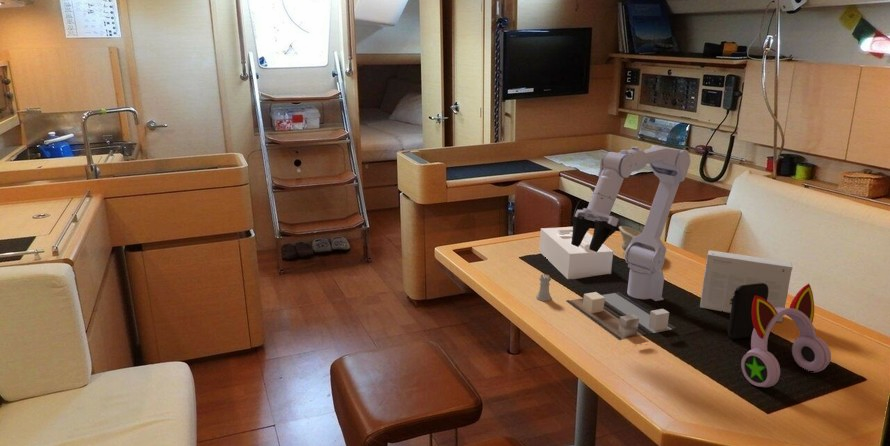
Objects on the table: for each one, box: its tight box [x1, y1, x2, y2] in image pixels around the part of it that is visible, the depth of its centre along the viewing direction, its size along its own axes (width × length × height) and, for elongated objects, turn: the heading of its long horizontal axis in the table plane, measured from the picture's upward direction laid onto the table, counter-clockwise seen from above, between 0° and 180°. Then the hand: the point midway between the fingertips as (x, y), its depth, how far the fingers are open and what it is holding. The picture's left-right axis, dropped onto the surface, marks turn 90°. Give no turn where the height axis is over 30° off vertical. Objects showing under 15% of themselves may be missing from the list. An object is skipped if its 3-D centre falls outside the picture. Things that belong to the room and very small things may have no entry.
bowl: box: [618, 225, 655, 252], centre depth 217 cm, size 15×14×10 cm
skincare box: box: [699, 249, 793, 323], centre depth 175 cm, size 21×6×16 cm, turn 65°
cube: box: [582, 291, 605, 313], centre depth 173 cm, size 4×4×4 cm
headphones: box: [740, 283, 832, 388], centre depth 142 cm, size 20×10×20 cm, turn 115°
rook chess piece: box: [535, 273, 552, 302], centre depth 179 cm, size 4×4×8 cm
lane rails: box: [565, 291, 677, 341], centre depth 171 cm, size 18×24×1 cm
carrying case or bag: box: [726, 283, 769, 340], centre depth 160 cm, size 11×3×15 cm, turn 106°
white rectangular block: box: [538, 226, 614, 280], centre depth 208 cm, size 14×25×11 cm, turn 12°
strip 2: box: [601, 292, 672, 334], centre depth 172 cm, size 6×24×6 cm, turn 22°
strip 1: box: [569, 297, 642, 340], centre depth 169 cm, size 6×24×6 cm, turn 22°
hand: (583, 248), depth 159 cm, fingers open, 7 cm apart
